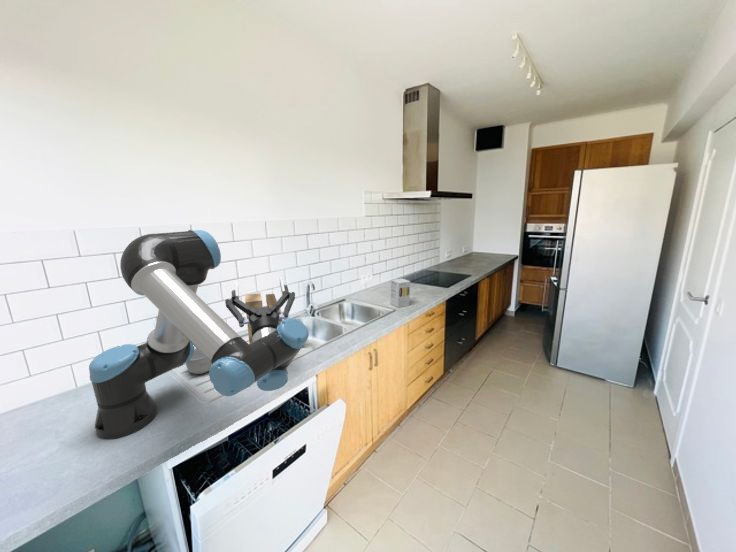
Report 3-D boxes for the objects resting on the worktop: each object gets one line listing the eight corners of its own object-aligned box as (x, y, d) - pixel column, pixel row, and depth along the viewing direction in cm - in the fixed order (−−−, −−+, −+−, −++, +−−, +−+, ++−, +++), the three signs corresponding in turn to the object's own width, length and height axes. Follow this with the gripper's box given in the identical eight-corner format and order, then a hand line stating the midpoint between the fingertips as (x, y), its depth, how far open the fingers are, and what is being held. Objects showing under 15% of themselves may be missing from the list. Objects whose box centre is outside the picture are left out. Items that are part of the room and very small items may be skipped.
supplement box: (397, 308, 193) (398, 282, 189) (389, 303, 201) (390, 279, 196) (409, 305, 197) (410, 281, 193) (401, 301, 205) (402, 277, 201)
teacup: (204, 379, 115) (201, 360, 113) (180, 375, 117) (176, 357, 115) (227, 360, 129) (225, 343, 127) (205, 357, 131) (203, 341, 129)
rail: (271, 322, 109) (270, 313, 108) (266, 302, 130) (265, 294, 130) (281, 321, 110) (280, 312, 109) (274, 301, 132) (274, 293, 131)
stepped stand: (252, 373, 119) (245, 302, 112) (251, 361, 128) (244, 294, 121) (285, 366, 124) (280, 298, 117) (282, 355, 133) (277, 291, 126)
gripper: (218, 350, 81) (218, 293, 95) (309, 335, 90) (297, 286, 104) (214, 334, 76) (215, 276, 90) (311, 320, 85) (298, 270, 99)
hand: (259, 281), depth 97 cm, fingers open, 13 cm apart
